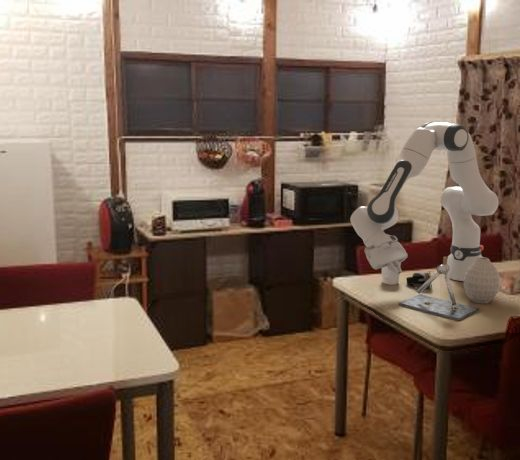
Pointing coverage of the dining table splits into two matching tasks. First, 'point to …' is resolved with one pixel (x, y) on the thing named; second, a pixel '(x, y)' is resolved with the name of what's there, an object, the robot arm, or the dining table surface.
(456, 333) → the dining table surface
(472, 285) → the vase
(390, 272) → the white cup
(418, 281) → the caster wheel
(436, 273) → the leg
